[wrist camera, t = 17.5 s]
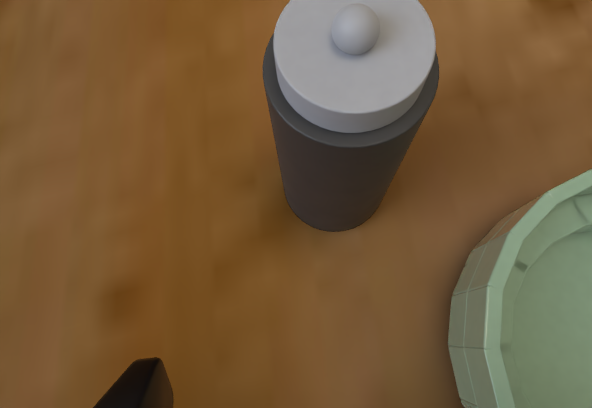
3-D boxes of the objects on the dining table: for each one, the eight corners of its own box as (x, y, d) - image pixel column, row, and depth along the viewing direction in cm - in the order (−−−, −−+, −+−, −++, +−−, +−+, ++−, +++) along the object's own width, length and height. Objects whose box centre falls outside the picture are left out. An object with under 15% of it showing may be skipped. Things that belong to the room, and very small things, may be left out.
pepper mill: (343, 252, 22) (381, 151, 10) (263, 191, 23) (209, 30, 11) (403, 175, 23) (506, -4, 11) (324, 119, 24) (338, -102, 12)
